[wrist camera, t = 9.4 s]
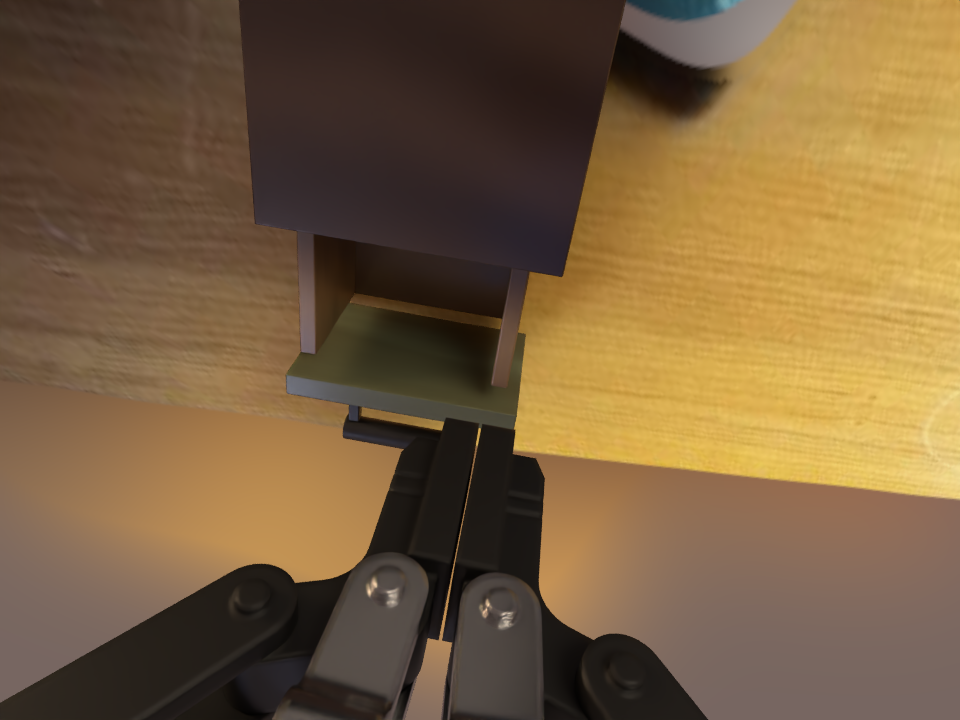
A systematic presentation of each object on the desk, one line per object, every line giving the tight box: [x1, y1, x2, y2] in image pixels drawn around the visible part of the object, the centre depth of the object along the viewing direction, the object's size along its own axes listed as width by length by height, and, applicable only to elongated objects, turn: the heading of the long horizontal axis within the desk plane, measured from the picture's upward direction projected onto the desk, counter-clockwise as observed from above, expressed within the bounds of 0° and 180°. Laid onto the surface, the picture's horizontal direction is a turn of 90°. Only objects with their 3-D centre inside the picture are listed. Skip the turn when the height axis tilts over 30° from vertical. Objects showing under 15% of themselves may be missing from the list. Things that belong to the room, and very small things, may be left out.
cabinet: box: [239, 0, 626, 277], centre depth 25 cm, size 15×13×10 cm
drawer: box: [286, 231, 530, 449], centre depth 32 cm, size 18×11×8 cm, turn 172°
